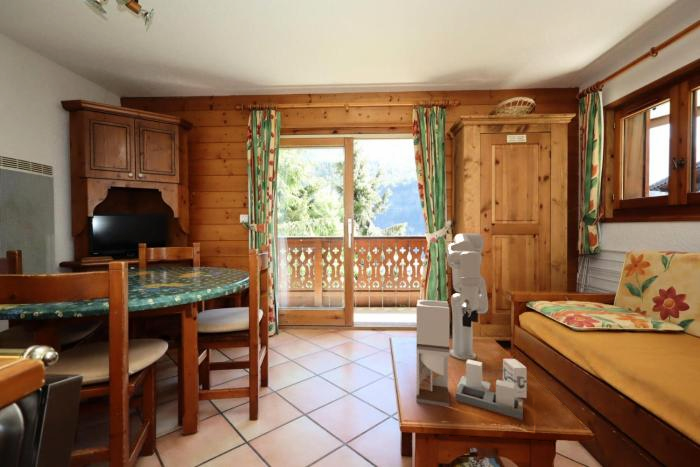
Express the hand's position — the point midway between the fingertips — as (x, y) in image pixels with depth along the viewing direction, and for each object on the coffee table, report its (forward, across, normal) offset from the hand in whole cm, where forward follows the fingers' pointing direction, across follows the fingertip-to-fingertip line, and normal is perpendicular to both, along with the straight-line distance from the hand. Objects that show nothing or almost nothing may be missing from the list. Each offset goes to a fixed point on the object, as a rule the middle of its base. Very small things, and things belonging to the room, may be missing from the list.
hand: (470, 324), depth 117 cm
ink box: (+25, -6, +15) cm, 30 cm away
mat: (+25, -1, +1) cm, 25 cm away
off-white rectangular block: (+25, +9, +14) cm, 30 cm away
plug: (+24, -1, +1) cm, 24 cm away
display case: (+26, +17, -9) cm, 32 cm away
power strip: (+25, +9, +9) cm, 28 cm away
